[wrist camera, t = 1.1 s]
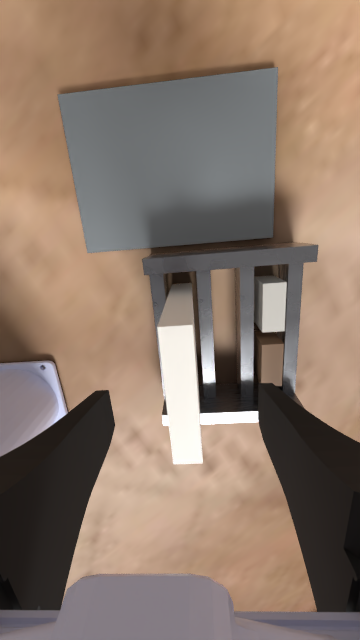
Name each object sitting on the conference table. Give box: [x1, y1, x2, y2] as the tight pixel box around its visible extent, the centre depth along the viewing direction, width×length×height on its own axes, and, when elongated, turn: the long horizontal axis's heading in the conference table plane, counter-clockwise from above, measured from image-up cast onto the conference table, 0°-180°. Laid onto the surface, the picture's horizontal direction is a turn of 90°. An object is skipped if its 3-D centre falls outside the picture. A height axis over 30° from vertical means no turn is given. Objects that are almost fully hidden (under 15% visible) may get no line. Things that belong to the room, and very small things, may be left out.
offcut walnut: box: [253, 330, 284, 386], centre depth 21 cm, size 2×4×3 cm, turn 5°
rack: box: [142, 242, 318, 426], centre depth 20 cm, size 11×13×4 cm
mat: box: [58, 67, 278, 253], centre depth 18 cm, size 14×10×1 cm
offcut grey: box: [254, 275, 287, 333], centre depth 20 cm, size 2×4×3 cm, turn 5°
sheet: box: [157, 283, 203, 464], centre depth 18 cm, size 2×8×10 cm, turn 5°
